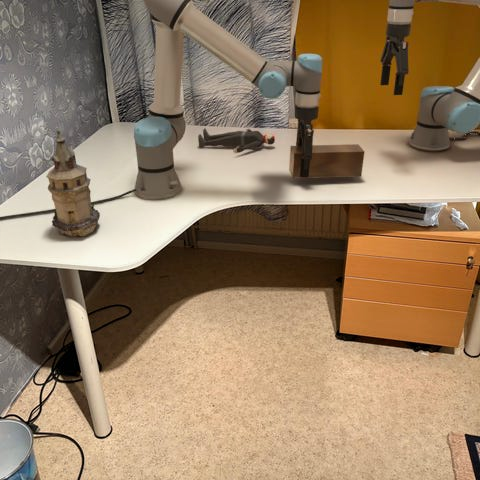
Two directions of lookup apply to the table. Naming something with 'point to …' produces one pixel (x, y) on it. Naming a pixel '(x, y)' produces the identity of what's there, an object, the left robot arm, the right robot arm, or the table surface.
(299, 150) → the box
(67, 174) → the miniature building
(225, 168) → the table surface
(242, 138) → the toy
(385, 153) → the table surface
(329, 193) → the table surface
